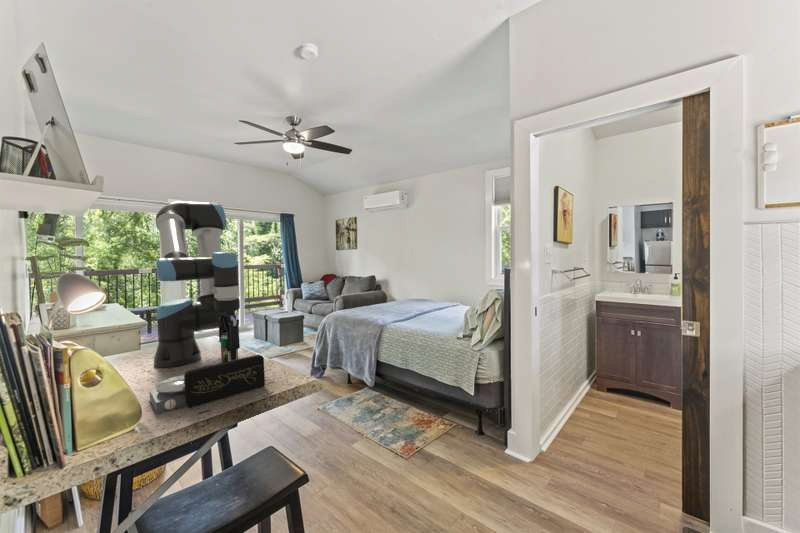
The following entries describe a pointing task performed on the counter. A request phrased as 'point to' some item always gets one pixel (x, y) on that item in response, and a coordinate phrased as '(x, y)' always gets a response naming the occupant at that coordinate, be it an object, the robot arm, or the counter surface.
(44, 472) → the counter surface
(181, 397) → the scale base
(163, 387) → the scale pan
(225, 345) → the soda can
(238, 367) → the nameplate
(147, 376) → the counter surface
